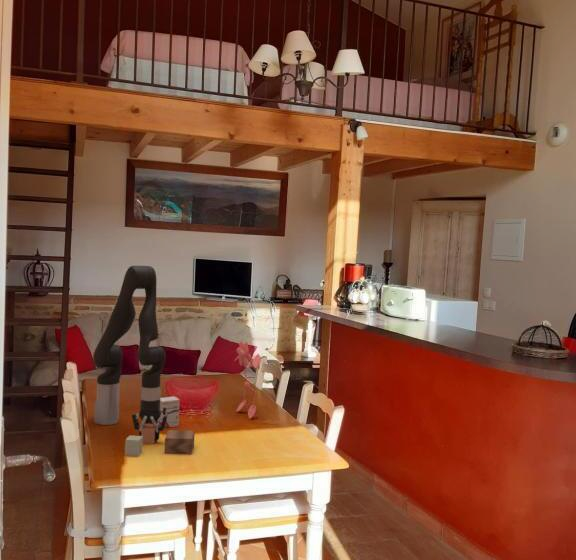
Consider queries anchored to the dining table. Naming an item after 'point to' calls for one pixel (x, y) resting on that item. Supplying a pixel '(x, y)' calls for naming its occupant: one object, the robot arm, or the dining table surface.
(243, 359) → the pink artificial flower
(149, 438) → the terracotta block
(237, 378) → the dining table surface
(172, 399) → the ink box
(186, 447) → the walnut block
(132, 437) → the sage block
